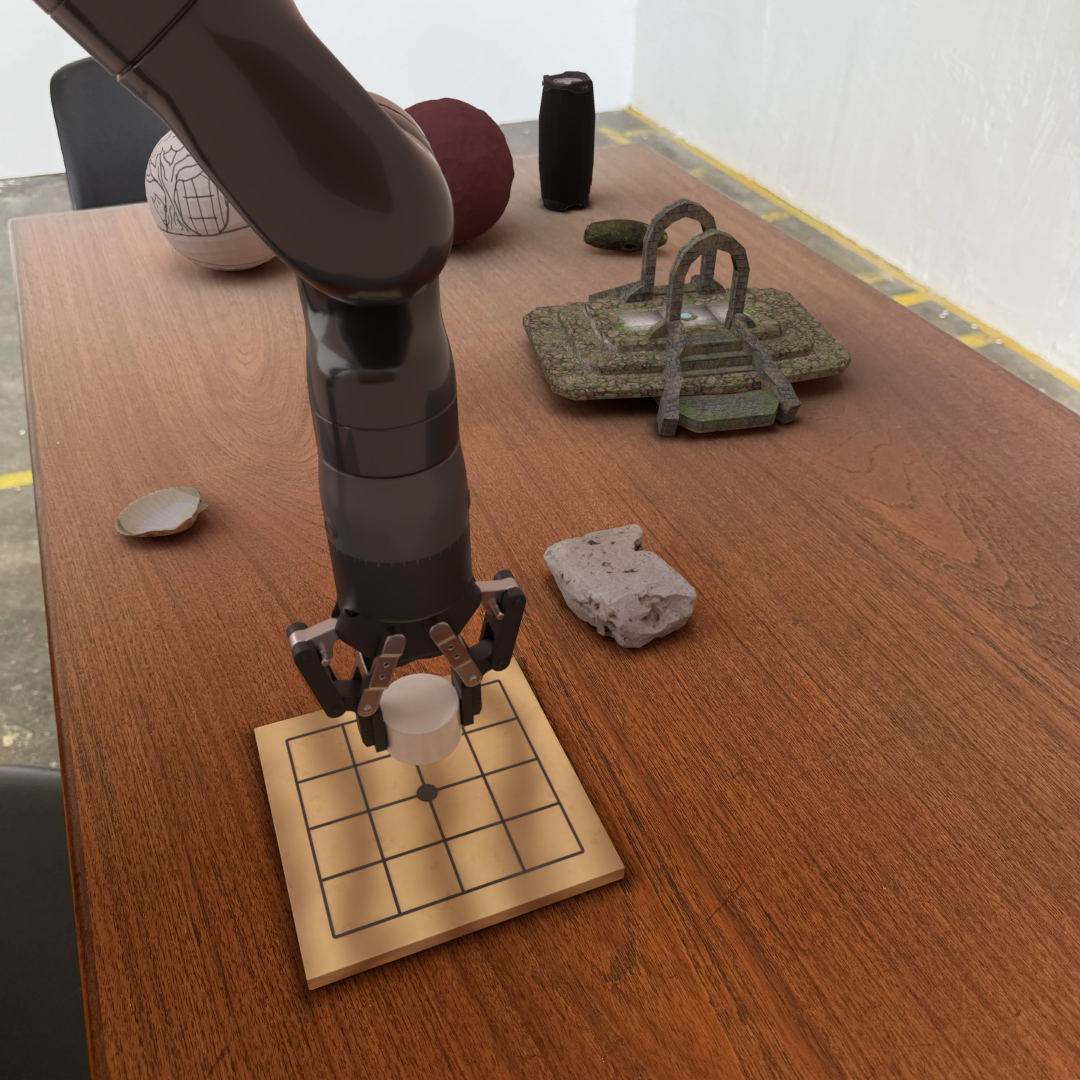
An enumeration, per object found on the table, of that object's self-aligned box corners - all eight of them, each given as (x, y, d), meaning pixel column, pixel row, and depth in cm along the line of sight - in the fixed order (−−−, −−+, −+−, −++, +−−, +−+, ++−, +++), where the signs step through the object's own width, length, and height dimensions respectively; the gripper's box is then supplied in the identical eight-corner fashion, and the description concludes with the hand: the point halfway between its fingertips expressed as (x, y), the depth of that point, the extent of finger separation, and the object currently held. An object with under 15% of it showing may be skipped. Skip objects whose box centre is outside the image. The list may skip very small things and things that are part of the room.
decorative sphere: (527, 224, 153) (527, 88, 140) (494, 272, 137) (491, 124, 125) (408, 213, 156) (398, 79, 144) (363, 259, 141) (347, 114, 129)
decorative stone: (644, 239, 148) (646, 206, 145) (670, 256, 142) (673, 223, 139) (580, 250, 144) (581, 217, 141) (604, 268, 139) (606, 234, 136)
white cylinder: (394, 775, 59) (389, 743, 57) (374, 717, 62) (369, 685, 61) (472, 751, 60) (470, 719, 58) (448, 696, 64) (445, 664, 62)
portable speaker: (530, 209, 158) (529, 80, 146) (553, 192, 165) (554, 67, 153) (578, 216, 155) (582, 85, 143) (599, 199, 162) (605, 72, 150)
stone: (613, 536, 89) (525, 582, 84) (618, 489, 85) (526, 535, 80) (714, 625, 81) (624, 681, 77) (725, 578, 77) (631, 634, 73)
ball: (337, 262, 140) (318, 116, 128) (218, 306, 128) (185, 149, 116) (255, 229, 150) (230, 91, 138) (138, 266, 138) (100, 119, 126)
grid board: (309, 991, 55) (306, 980, 55) (256, 739, 70) (253, 727, 69) (624, 878, 61) (625, 866, 61) (514, 667, 76) (514, 655, 75)
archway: (570, 456, 100) (575, 290, 89) (510, 317, 126) (509, 175, 115) (881, 421, 106) (922, 262, 95) (763, 295, 132) (784, 159, 121)
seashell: (172, 510, 95) (98, 534, 89) (167, 480, 94) (93, 502, 88) (228, 525, 91) (154, 552, 85) (224, 495, 90) (149, 519, 83)
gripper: (501, 449, 55) (507, 659, 66) (247, 503, 51) (296, 718, 62) (551, 522, 50) (548, 739, 60) (270, 589, 46) (320, 810, 56)
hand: (421, 728), depth 61 cm, fingers closed on white cylinder, 5 cm apart
